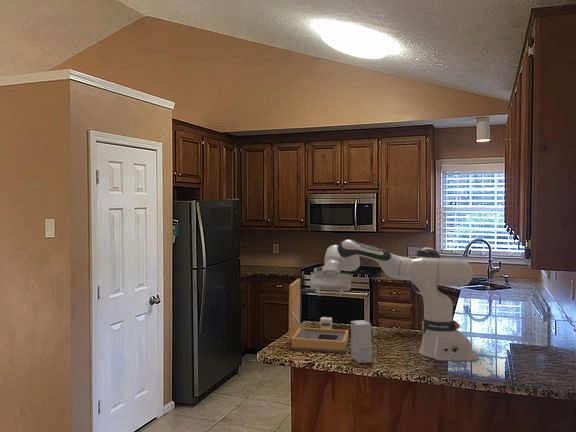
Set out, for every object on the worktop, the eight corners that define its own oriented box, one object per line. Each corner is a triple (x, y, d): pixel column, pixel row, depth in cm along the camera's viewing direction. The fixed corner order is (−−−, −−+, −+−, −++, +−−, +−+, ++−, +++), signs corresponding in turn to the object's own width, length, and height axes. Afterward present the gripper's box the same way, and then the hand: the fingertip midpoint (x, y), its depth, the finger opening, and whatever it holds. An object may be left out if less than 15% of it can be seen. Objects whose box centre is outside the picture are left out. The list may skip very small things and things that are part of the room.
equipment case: (348, 340, 230) (349, 280, 229) (344, 352, 210) (345, 287, 209) (297, 337, 234) (297, 278, 233) (288, 349, 214) (289, 285, 214)
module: (332, 333, 241) (332, 317, 241) (330, 336, 236) (330, 319, 236) (321, 332, 242) (321, 317, 242) (319, 335, 237) (320, 319, 237)
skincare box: (372, 362, 197) (372, 324, 197) (357, 363, 196) (357, 324, 196) (364, 356, 205) (364, 319, 205) (349, 357, 204) (350, 319, 204)
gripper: (352, 277, 260) (351, 300, 250) (312, 276, 264) (309, 298, 254) (352, 269, 255) (350, 292, 246) (311, 268, 259) (308, 290, 250)
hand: (329, 295), depth 250 cm, fingers open, 8 cm apart
